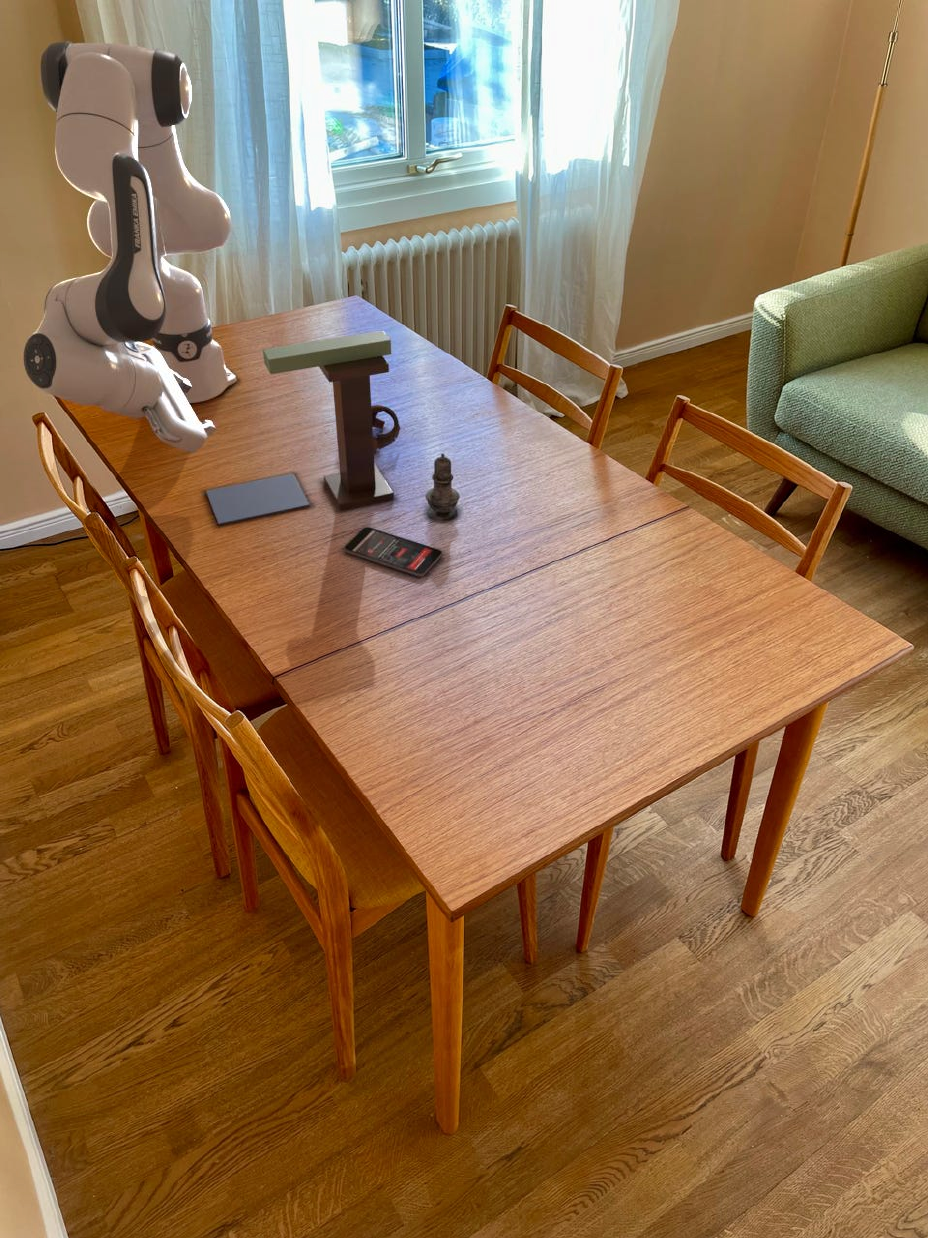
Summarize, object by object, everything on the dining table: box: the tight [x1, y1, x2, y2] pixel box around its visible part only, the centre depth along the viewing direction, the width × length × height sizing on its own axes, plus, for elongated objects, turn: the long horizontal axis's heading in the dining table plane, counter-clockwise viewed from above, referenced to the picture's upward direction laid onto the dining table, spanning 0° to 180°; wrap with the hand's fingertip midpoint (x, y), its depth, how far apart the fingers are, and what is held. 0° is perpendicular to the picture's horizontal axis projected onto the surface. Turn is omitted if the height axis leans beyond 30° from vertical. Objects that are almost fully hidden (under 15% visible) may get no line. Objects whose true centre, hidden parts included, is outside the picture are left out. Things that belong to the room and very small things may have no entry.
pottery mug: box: [371, 404, 402, 453], centre depth 181 cm, size 12×10×8 cm
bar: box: [262, 329, 392, 375], centre depth 151 cm, size 4×20×2 cm, turn 113°
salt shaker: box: [425, 452, 461, 523], centre depth 161 cm, size 6×6×12 cm
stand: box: [318, 356, 395, 512], centre depth 161 cm, size 10×10×26 cm
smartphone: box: [343, 526, 443, 578], centre depth 156 cm, size 7×1×15 cm
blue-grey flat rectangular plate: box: [205, 472, 310, 526], centre depth 167 cm, size 11×16×1 cm
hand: (200, 407), depth 154 cm, fingers open, 8 cm apart
